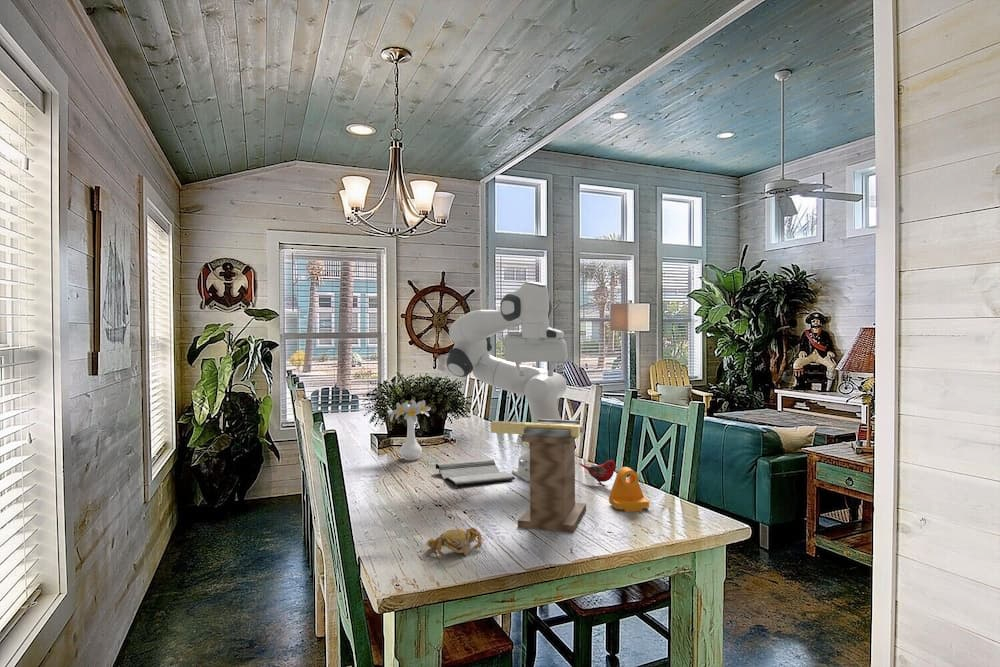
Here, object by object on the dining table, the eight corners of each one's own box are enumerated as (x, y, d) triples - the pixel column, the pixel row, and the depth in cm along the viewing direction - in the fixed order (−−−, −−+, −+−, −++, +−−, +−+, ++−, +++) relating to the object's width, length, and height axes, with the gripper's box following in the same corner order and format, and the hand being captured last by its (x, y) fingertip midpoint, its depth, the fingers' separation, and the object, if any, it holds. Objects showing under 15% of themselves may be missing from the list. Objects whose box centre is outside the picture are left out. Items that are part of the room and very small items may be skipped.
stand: (517, 527, 175) (517, 429, 174) (536, 505, 195) (535, 417, 194) (573, 532, 170) (572, 432, 169) (586, 509, 190) (585, 419, 189)
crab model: (454, 536, 168) (453, 517, 168) (490, 546, 161) (490, 525, 161) (414, 554, 156) (413, 532, 156) (451, 565, 148) (451, 543, 148)
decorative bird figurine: (614, 490, 210) (614, 462, 210) (576, 480, 224) (576, 453, 223) (619, 489, 212) (619, 460, 212) (582, 479, 226) (581, 452, 225)
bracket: (616, 512, 188) (616, 473, 187) (609, 505, 195) (608, 467, 194) (650, 510, 189) (650, 471, 189) (641, 503, 196) (641, 466, 196)
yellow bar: (490, 432, 180) (490, 422, 180) (493, 430, 183) (493, 420, 183) (578, 437, 172) (578, 426, 172) (580, 435, 175) (580, 424, 175)
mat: (455, 490, 214) (455, 476, 214) (435, 474, 236) (435, 462, 236) (515, 482, 224) (515, 469, 224) (490, 468, 245) (490, 456, 245)
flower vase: (386, 457, 264) (385, 399, 264) (429, 454, 269) (428, 397, 268) (388, 464, 252) (388, 403, 251) (433, 461, 256) (432, 401, 256)
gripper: (501, 332, 195) (501, 376, 195) (564, 332, 189) (565, 377, 189) (507, 332, 201) (507, 374, 201) (568, 332, 195) (569, 375, 195)
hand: (535, 375), depth 195 cm, fingers open, 8 cm apart
